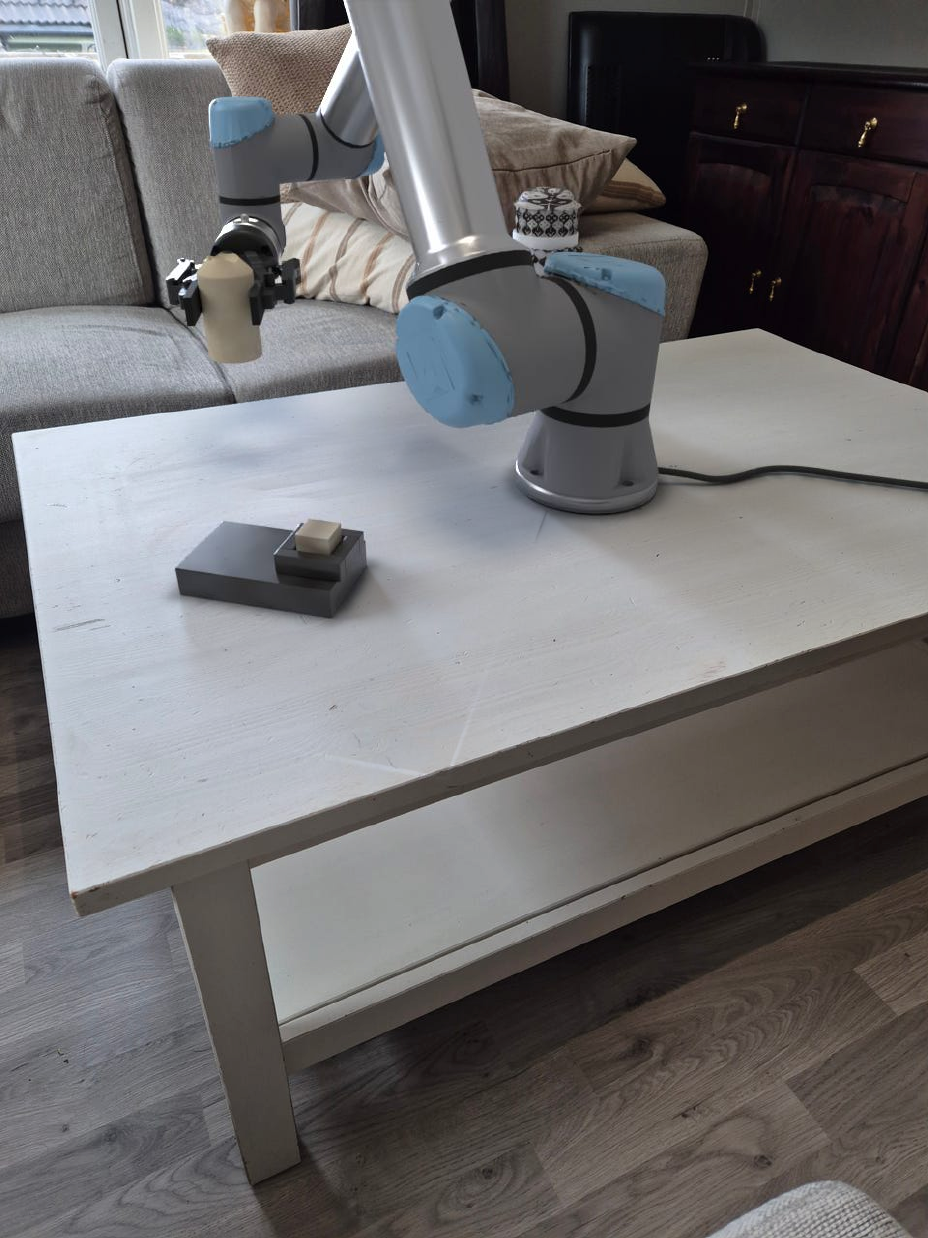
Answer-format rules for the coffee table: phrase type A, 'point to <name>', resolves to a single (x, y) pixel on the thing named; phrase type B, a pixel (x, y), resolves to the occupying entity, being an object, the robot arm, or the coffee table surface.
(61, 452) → the coffee table surface
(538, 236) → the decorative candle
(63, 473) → the coffee table surface
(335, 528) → the key
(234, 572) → the grey stepped base
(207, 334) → the candle
